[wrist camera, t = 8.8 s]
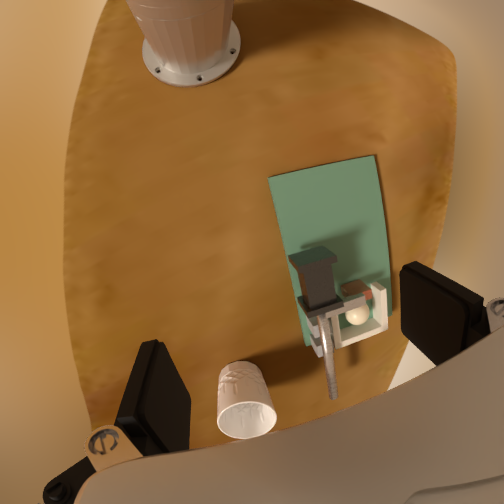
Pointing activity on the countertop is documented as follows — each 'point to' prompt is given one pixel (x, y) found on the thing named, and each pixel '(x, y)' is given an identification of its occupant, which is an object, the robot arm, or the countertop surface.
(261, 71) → the countertop surface
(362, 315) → the ball
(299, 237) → the board
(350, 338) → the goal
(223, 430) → the white cup
